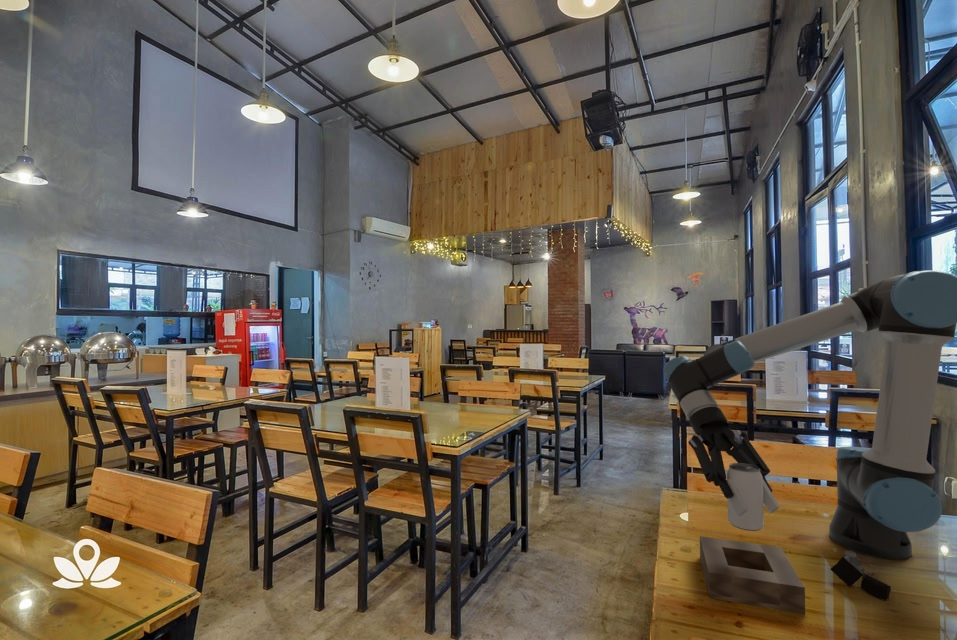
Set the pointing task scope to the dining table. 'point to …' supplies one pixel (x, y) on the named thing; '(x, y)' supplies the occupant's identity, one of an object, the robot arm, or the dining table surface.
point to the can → (747, 496)
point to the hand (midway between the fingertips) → (758, 511)
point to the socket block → (751, 574)
